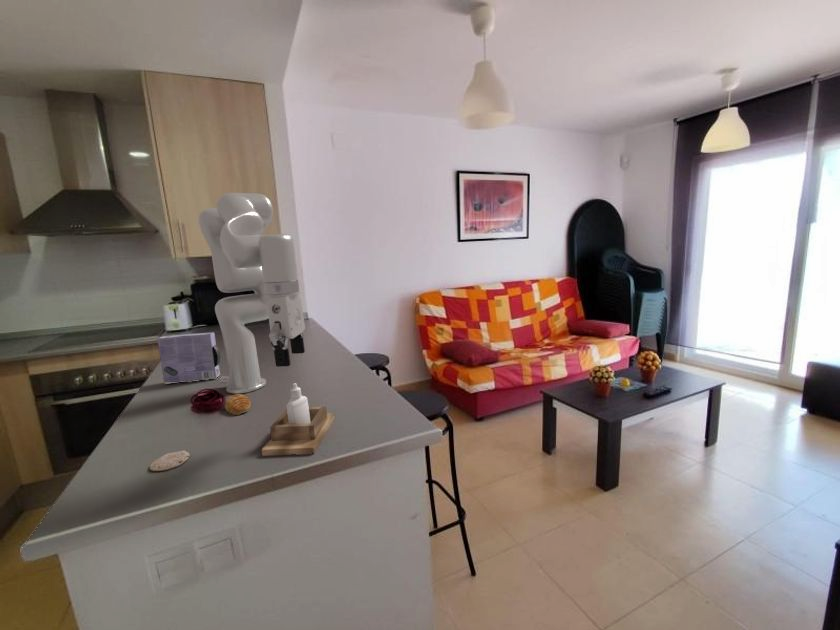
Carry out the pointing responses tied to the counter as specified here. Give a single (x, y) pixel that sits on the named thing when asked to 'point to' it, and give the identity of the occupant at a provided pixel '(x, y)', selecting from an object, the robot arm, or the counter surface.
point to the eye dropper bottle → (298, 407)
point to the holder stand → (298, 434)
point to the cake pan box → (189, 357)
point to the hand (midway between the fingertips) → (291, 359)
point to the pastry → (237, 404)
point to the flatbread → (169, 461)
